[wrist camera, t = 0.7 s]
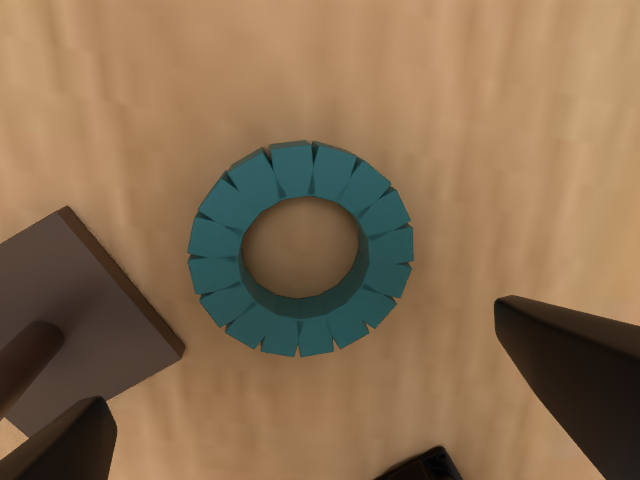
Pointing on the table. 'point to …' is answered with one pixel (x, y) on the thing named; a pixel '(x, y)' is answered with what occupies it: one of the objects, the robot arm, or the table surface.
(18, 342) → the stand
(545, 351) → the robot arm
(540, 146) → the table surface
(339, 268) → the table surface
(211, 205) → the hoop
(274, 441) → the table surface
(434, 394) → the table surface
